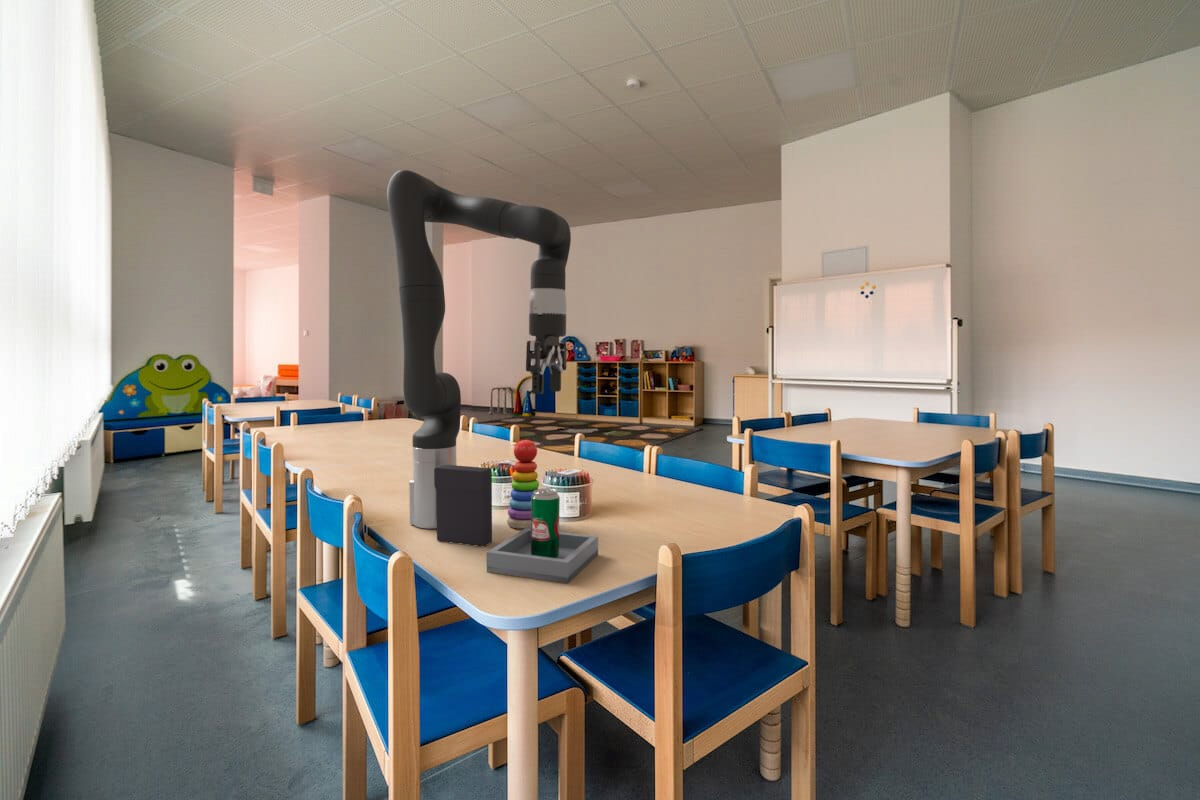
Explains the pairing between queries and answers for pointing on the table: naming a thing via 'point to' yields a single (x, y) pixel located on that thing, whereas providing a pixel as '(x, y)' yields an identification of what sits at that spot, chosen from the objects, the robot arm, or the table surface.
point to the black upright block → (464, 504)
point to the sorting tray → (563, 568)
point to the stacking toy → (523, 485)
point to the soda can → (545, 523)
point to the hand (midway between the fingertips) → (546, 392)
